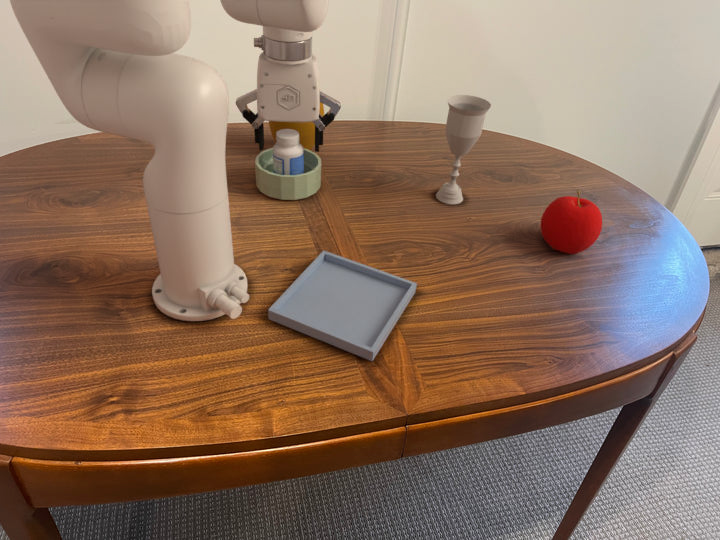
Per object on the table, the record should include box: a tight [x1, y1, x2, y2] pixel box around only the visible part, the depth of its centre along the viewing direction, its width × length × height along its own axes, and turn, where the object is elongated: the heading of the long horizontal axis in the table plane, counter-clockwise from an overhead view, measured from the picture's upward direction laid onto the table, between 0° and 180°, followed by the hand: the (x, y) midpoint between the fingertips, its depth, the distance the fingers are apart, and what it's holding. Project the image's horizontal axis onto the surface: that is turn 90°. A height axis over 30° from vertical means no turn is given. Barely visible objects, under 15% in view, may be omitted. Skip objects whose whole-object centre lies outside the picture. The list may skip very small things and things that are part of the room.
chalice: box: [435, 94, 492, 205], centre depth 94 cm, size 7×7×18 cm
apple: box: [268, 102, 325, 151], centre depth 105 cm, size 11×11×13 cm
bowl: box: [254, 147, 322, 201], centre depth 97 cm, size 12×12×5 cm
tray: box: [267, 250, 418, 362], centre depth 74 cm, size 15×15×2 cm
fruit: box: [540, 190, 603, 255], centre depth 87 cm, size 9×9×10 cm
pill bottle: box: [272, 129, 304, 175], centre depth 95 cm, size 6×5×10 cm
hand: (289, 147), depth 94 cm, fingers open, 9 cm apart
